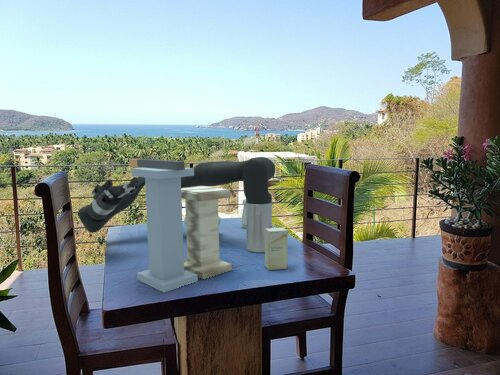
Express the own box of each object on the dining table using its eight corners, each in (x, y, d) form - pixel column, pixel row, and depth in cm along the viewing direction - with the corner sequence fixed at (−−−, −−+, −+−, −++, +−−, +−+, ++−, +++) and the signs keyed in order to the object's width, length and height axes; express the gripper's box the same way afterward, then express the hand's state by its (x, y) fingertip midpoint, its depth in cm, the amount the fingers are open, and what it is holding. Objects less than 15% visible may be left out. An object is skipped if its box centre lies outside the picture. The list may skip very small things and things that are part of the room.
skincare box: (268, 270, 118) (268, 231, 116) (264, 266, 122) (264, 228, 120) (288, 268, 119) (288, 230, 118) (283, 264, 124) (283, 226, 122)
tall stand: (137, 279, 112) (131, 168, 108) (170, 270, 119) (166, 166, 115) (163, 292, 102) (158, 171, 98) (197, 281, 109) (193, 168, 105)
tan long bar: (129, 166, 118) (129, 158, 118) (136, 165, 119) (135, 158, 119) (177, 170, 99) (177, 161, 99) (184, 169, 101) (184, 161, 101)
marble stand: (175, 268, 121) (172, 188, 118) (204, 260, 128) (201, 185, 125) (203, 279, 111) (200, 193, 108) (232, 270, 118) (230, 189, 115)
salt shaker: (252, 229, 172) (252, 200, 170) (240, 228, 173) (239, 199, 171) (255, 226, 178) (254, 198, 176) (242, 225, 179) (242, 197, 177)
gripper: (82, 193, 131) (99, 171, 120) (122, 189, 141) (141, 168, 130) (88, 213, 129) (105, 193, 118) (128, 208, 139) (147, 188, 128)
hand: (124, 180), depth 124 cm, fingers open, 8 cm apart
